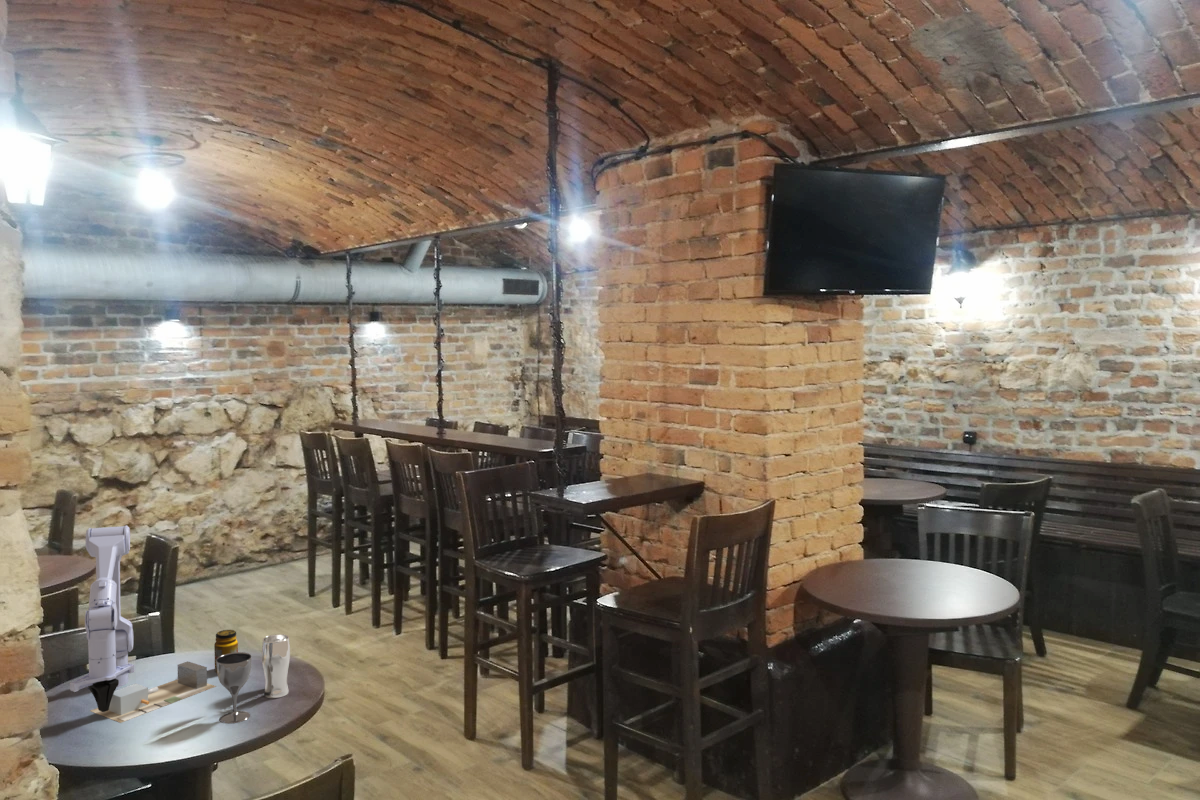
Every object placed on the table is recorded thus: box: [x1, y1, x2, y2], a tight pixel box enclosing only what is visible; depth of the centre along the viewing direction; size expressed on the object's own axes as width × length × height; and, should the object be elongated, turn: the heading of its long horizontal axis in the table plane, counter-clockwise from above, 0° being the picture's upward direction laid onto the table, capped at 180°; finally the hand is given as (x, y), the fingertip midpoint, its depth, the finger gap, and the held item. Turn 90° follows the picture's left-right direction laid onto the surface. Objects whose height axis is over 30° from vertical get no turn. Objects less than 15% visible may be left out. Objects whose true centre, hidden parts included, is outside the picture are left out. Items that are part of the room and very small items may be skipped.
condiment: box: [213, 629, 239, 674], centre depth 241 cm, size 7×8×12 cm
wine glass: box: [216, 651, 252, 724], centre depth 214 cm, size 8×8×15 cm
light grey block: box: [109, 683, 158, 715], centre depth 217 cm, size 7×11×4 cm
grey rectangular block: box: [177, 661, 208, 689], centre depth 231 cm, size 8×3×5 cm, turn 60°
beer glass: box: [261, 633, 291, 699], centre depth 229 cm, size 7×7×15 cm
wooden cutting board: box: [89, 678, 217, 724], centre depth 222 cm, size 13×26×1 cm, turn 150°
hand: (103, 710), depth 211 cm, fingers closed
